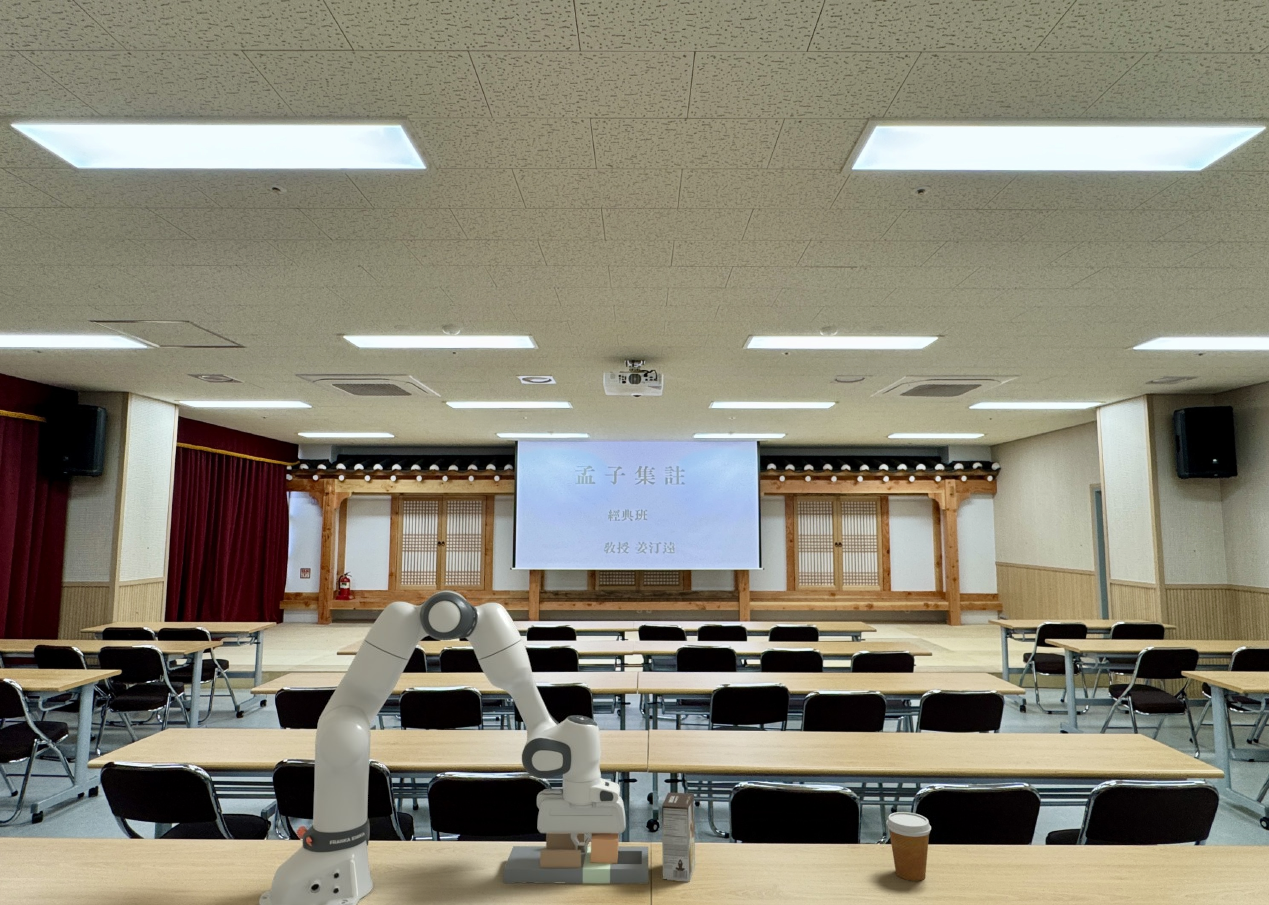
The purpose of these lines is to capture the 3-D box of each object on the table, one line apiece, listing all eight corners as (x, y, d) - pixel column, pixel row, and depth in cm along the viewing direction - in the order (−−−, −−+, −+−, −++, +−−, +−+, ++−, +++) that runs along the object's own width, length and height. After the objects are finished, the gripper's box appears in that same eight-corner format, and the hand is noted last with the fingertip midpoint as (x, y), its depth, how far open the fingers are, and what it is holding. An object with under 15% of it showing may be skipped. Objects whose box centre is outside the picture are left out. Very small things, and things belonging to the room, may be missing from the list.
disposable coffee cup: (882, 865, 176) (880, 811, 177) (923, 865, 176) (921, 811, 177) (896, 884, 166) (894, 827, 167) (940, 884, 166) (937, 827, 167)
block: (590, 862, 171) (591, 839, 171) (592, 850, 177) (593, 828, 177) (617, 863, 171) (617, 840, 171) (618, 852, 177) (618, 829, 177)
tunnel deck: (503, 883, 168) (504, 852, 168) (513, 859, 180) (513, 830, 180) (648, 883, 167) (648, 852, 168) (648, 859, 179) (648, 830, 180)
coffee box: (668, 862, 178) (667, 791, 179) (695, 864, 176) (694, 792, 178) (662, 880, 169) (661, 805, 170) (690, 882, 168) (689, 807, 169)
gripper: (534, 793, 172) (534, 857, 171) (624, 794, 172) (625, 858, 171) (538, 784, 179) (538, 845, 177) (625, 784, 178) (625, 846, 177)
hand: (581, 851), depth 174 cm, fingers closed
